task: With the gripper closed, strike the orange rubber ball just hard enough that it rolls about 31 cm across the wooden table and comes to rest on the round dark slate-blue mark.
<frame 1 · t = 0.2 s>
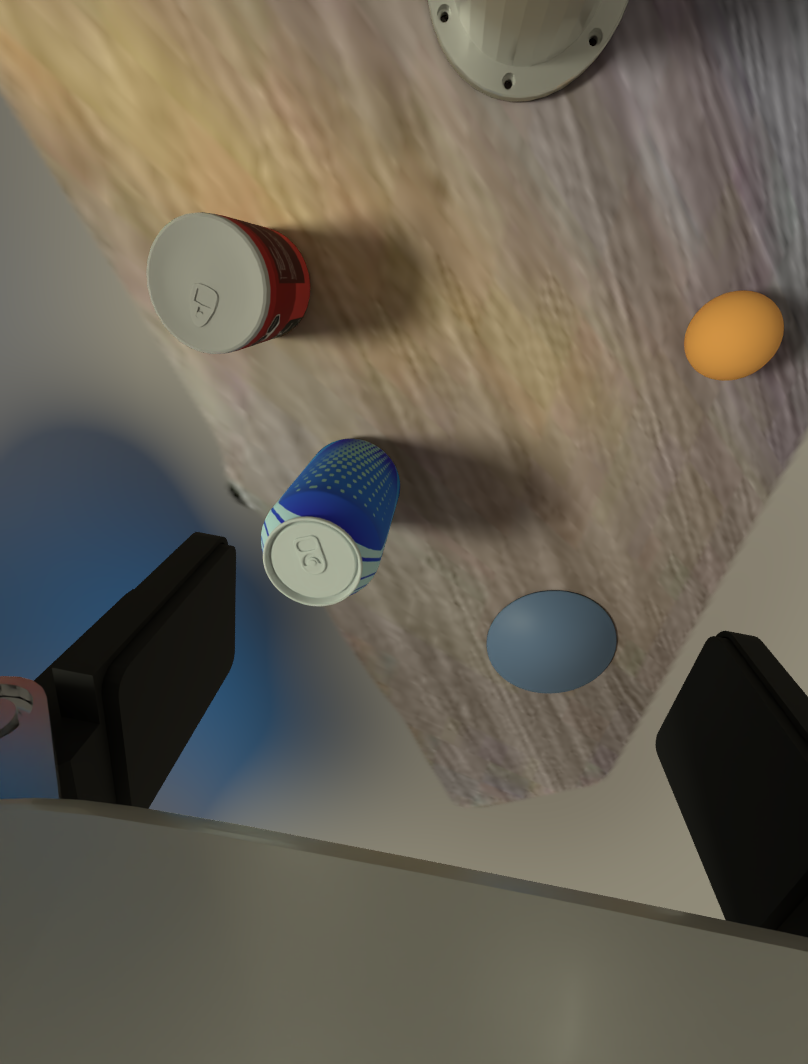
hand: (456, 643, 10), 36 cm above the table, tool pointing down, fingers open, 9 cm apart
beer can: (356, 478, 48), on the table
ball: (731, 336, 37), on the table
canned food: (267, 285, 42), on the table
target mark: (550, 643, 54), on the table
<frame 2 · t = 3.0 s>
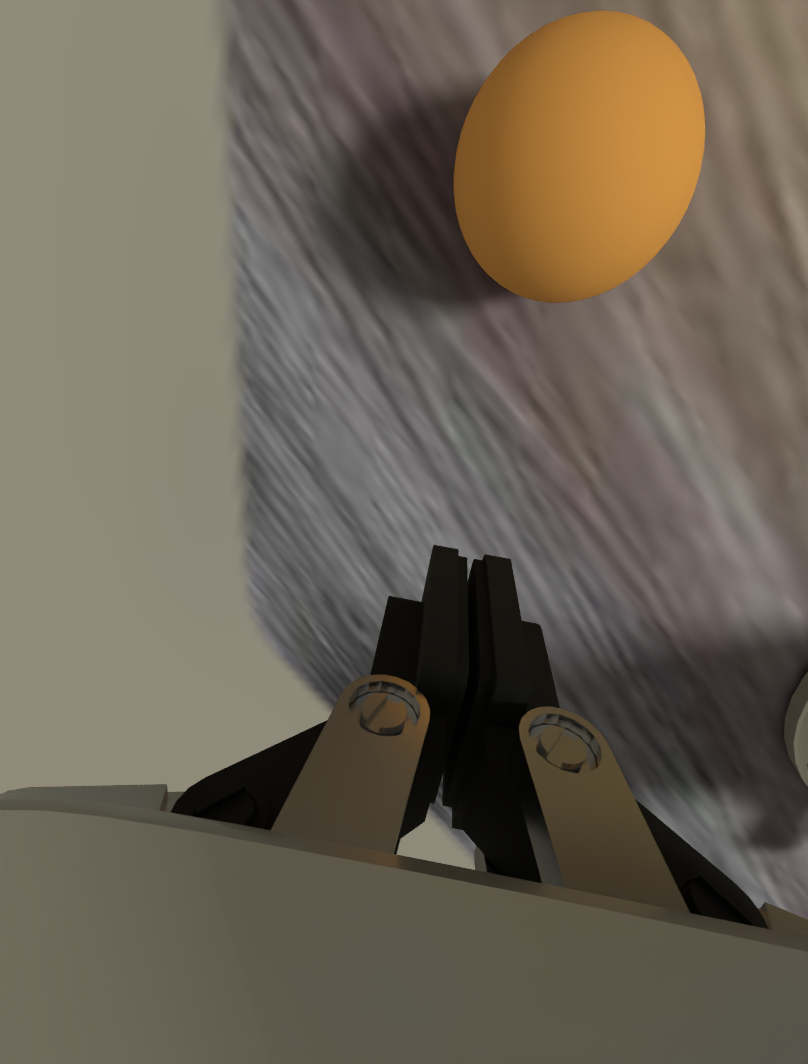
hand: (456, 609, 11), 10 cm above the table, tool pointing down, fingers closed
ball: (570, 175, 13), on the table
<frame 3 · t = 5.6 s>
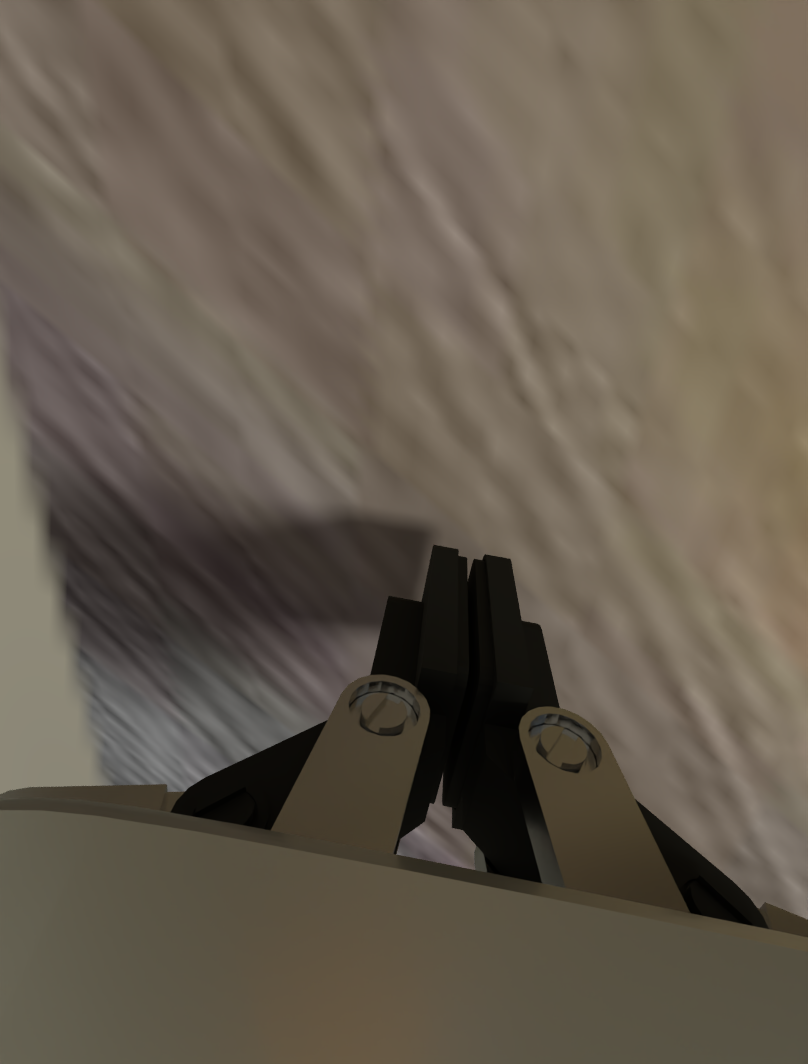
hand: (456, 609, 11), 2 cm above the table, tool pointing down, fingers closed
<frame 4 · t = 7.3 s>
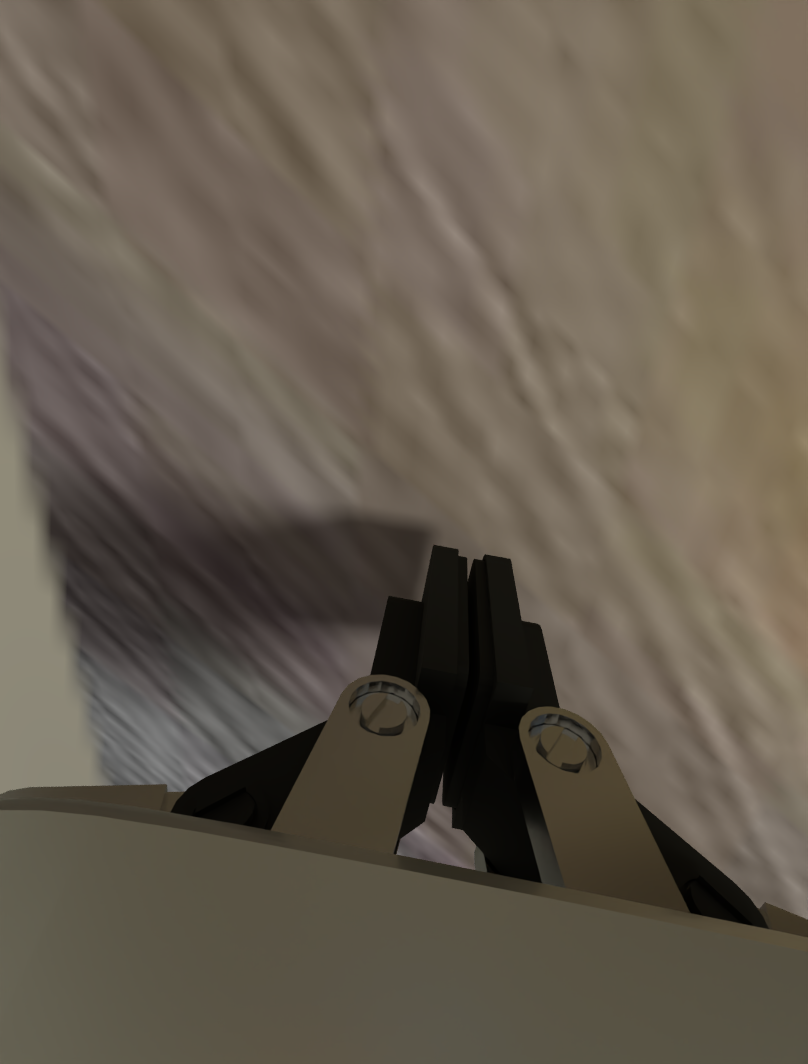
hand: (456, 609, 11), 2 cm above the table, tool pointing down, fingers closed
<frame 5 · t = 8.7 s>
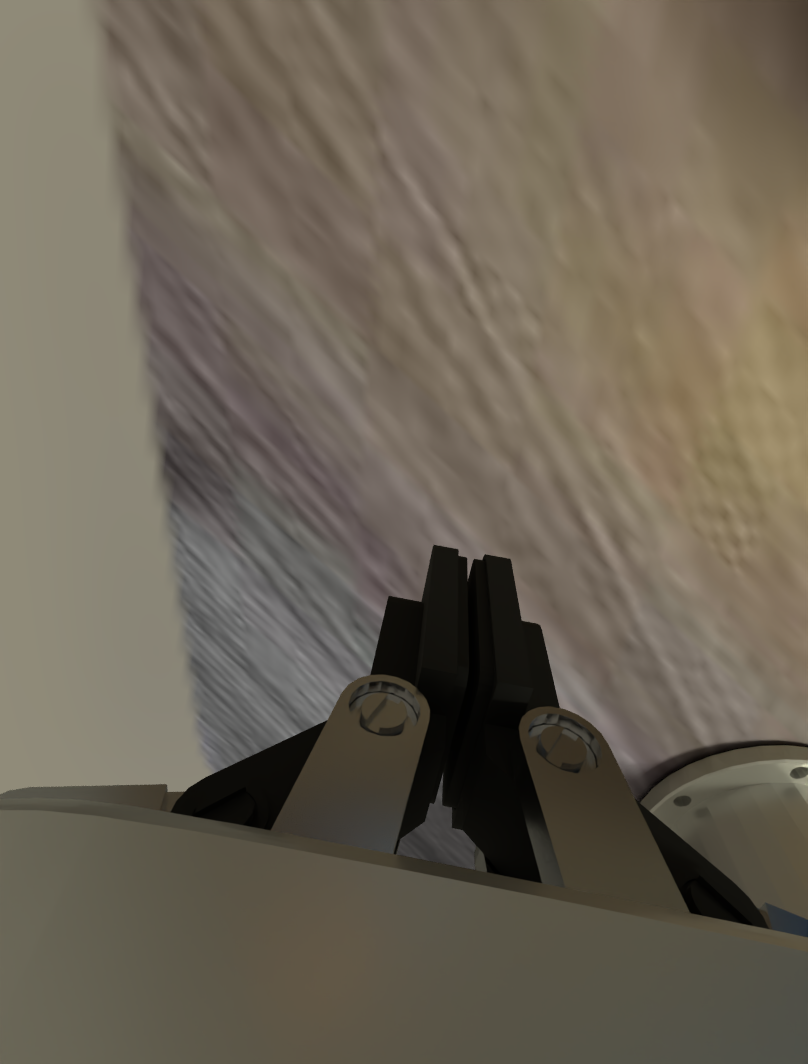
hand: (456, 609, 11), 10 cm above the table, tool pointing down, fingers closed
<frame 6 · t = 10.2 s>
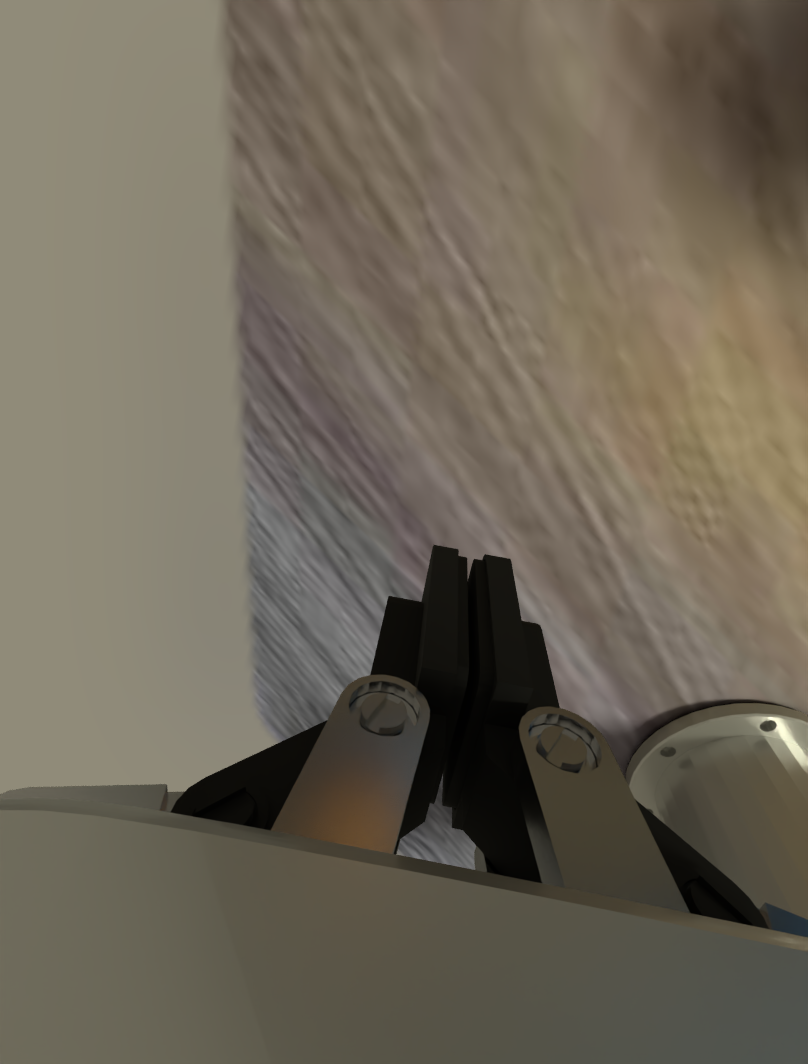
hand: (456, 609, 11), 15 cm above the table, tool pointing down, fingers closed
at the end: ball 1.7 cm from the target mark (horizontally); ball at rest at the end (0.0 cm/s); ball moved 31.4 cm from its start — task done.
